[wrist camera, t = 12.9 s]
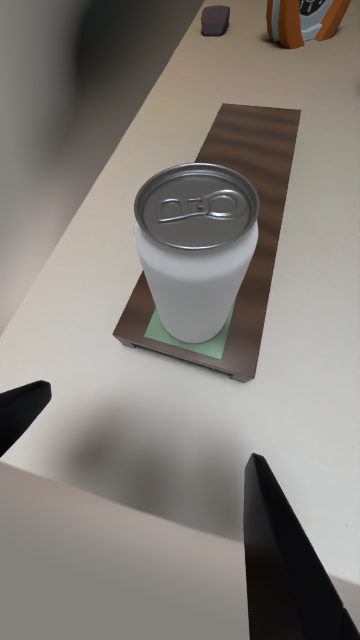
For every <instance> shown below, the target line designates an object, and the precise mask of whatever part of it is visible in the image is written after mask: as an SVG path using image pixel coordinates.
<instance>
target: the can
mask: <svg viewBox="0 0 360 640" xmlns="http://www.w3.org/2000/svg"><path fill="white" fill-rule="evenodd" d="M259 210H260V200H259V196H258V193H257V191H256V189H255V187H254V186H253V184H252V183H251V182H250V181H249V180H248V179H247V178H246V177H244V176H243V175H242V174H240V173H238V172H236V171H234V170H232V169H230V168H227V167H224V166H221V165H216V164H210V163H188V164H182V165H177V166H174V167H171V168H168V169H165V170H163V171H161V172H159V173H157V174H156V175H154V176H153V177H151V178H150V179H149V180H148V181H147V182H146V183H145V184H144V185H143V186H142V187H141V189H140V190H139V192H138V194H137V196H136V199H135V203H134V213H135V217H136V225H135V232H134V238H135V244H136V249H137V252H138V255H139V258H140V261H141V264H142V267H143V270H144V273H145V276H146V279H147V282H148V285H149V288H150V290H151V293H152V296H153V299H154V302H155V305H156V308H157V310H158V313H159V316H160V319H161V321H162V324H163V326H164V328H165V329H166V331H167V332H168V333H169V334H170V335H171V336H172V337H174V338H175V339H177V340H179V341H182V342H185V343H202V342H205V341H208V340H210V339H211V338H213V337H214V336H216V335H217V334H218V333H219V332H220V330H221V329H222V327H223V326H224V323H225V321H226V319H227V317H228V314H229V312H230V310H231V307H232V305H233V302H234V300H235V298H236V295H237V293H238V290H239V288H240V286H241V283H242V281H243V278H244V276H245V273H246V271H247V268H248V266H249V263H250V261H251V258H252V256H253V253H254V250H255V247H256V244H257V240H258V224H257V217H258V215H259Z"/></svg>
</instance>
